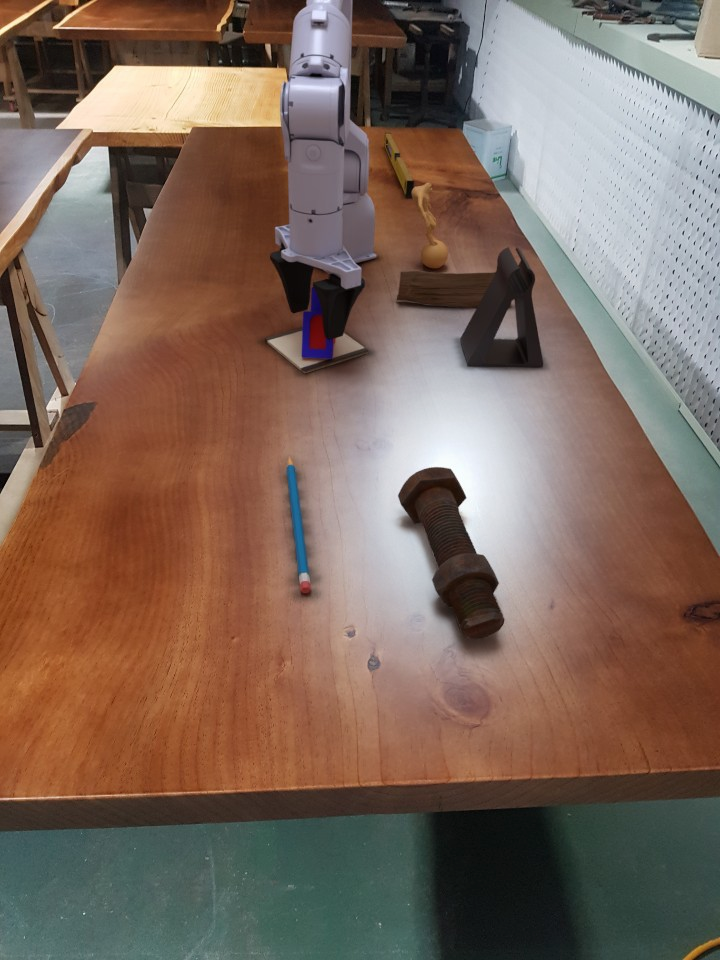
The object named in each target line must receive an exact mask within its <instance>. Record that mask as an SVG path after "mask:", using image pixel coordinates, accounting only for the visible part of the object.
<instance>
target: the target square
mask: <svg viewBox="0 0 720 960" xmlns="http://www.w3.org/2000/svg"><path fill="white" fill-rule="evenodd" d="M302 331H303V326H302V327H299V328H296V329H295V328H294V329H292V330H288V331H285V332H281V333H277V334H274V335H271V336H267V337H265V338H264V342H265V343H267V344H268V346H270V347H271V348H272V349H274V350H275V351H276V352H277V353H278V354H279V355H281V356H282V357H283V358H284V359H286V360H287V361H288V362H290V364H292V365H293V366H294V367H295V368H296V369H298V370H299V371H300V372H301V373H303V374H308V373H311V372H315V371H317V370H320V369H323V368H327V367H329V366H333V365H336V364H339V363H342V362H345V361H348V360H352V359H354V358H357V357H361V356H364V355H367V354H369V349H368V348H366V347H364V346H363V345H361V344H360V343H359V342H357V341H356V340H354V339H353V338H352V337H350V336H349V335H348V334H346V333H345V332H344V334H343V336H341V337H338V338H336V342H335V343H334V347H333V359H323V358H305V357H302Z"/></svg>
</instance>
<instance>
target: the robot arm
mask: <svg viewBox="0 0 720 960" xmlns="http://www.w3.org/2000/svg"><path fill="white" fill-rule="evenodd" d="M292 25H293V26H292V35H291V37H292V38H291V48H290V49H291V50H290V58H289V69H288V70H289V71H288V81H285V80H283V81H282V84H281V89H280V95H279V97H280V98H279V100H280V102H279V120H280V127H281V132H282V136H283V145H284V147H283V148H284V149H283V150H284V160H285V161H286V162H287V185H288V186H287V187H288V188H287V189H288V224H285V225H280V226H275V227H274V238H275V241H274V242H275V244H276V245H277V246H278V247H280V248H279V250H277V251H273V252H271V253H270V254H269V260H270V262H271V263H272V264H273V267H274V268H275V270H276V272H277V274H278V276H279V279H280V281H281V284H282V287H283V290H284V294H285V297H286V301H287V305H288V308H289V311H290V313H292V314H293V315H294V314H298V313H301V312H303V311H309V306H310V302H311V288H312V287H314V289H315V291H316V293H317V296H318V299H319V302H320V306H321V311H322V320H323V330H324V335H325V338H327V339H328V340H331V339H334V338H338V337H341V336H343V334H344V333H345V330H346V327H347V324H348V320H349V317H350V314H351V311H352V309H353V307H354V305H355V303H356V301H357V298H358V297H359V296H360V294H361V293H362V292H363V290H364V289H365V287H366V279H365V278H363V277H362V270H363V268H362V267H361V266H360V265H358V264H359V263H362V262H366V261H370V260H374V259H377V254H376V253H375V252H374V249H375V248H374V247H375V231H376V230H375V229H376V211H375V210H376V209H375V205H374V202H373V200H372V198H371V196H370V195H369V194H368V191H369V178H370V177H369V176H370V150H369V149H370V139H369V138H368V134H367V133H366V132H365V131H364V130H362V129H361V128H360V126H358V125H357V124H355V122H353V121H352V120H351V86H352V85H351V82H352V79H351V78H352V42H353V41H352V39H353V36H352V35H353V0H306V6H305V7H303V8H302V9H301V10H300V11H298V13H297V14H296V15H295V17H294V20H293V24H292ZM314 268H316V269H319V270H322V271H324V272H325V273H327V274H328V278H324V279H321V280H317V281H313V282H312V278H313V272H314ZM311 284H312V285H311Z"/></svg>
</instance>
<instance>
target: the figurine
mask: <svg viewBox="0 0 720 960" xmlns="http://www.w3.org/2000/svg"><path fill="white" fill-rule="evenodd" d="M432 186H433V185H432V183H431V182H429V181H428V182H426V183H424V184H422V185H418V186H414V188H413V190H412V198H411V199H412V200H413V202H414V204H415V206H416V207H417V210H418V212H419V213H420V215H421V217H422V219H423V222H424V223H425V225H426V227H425V229H426V230H425V236H426V238H427V240H428V241H427V242H426V243H424V245H423V246H422V248H421V250H420V259H421V262H422V263H423V265H424V266H426V268H429V269H439V268H441V267H442V266H444V265H445V264H446V262H447V260H448V257H449V251H448V247H447V246H446V244H445V243H444V242H443V241H441V240H438V238H437V237H434V236H433V235H432V233H433V231H434V230H435V229H436V228H437V219H436V217H434V215H433V213H431V211H430V210H432V205H431V204H430V199H431V197H430V192H432V191H433V187H432Z"/></svg>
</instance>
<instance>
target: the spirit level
mask: <svg viewBox="0 0 720 960" xmlns="http://www.w3.org/2000/svg"><path fill="white" fill-rule="evenodd" d="M384 141H385V143H386V144H388V145H386V144H385V143H384V142H383V143H384V144H383V148H384V149H385V151H386V154H387V156H388V158H389V160H390V163H391V165H392V168H393V169H394V172H395V174H396V177H397V179H398V181H399V183H400V186H401V188H402V190H403V193H404V195H405V199H413V198H412V190H413V188H415V180H413V178H412V176H411V174H410V171H409V169H408V167H407V165H406V163H405V161H404V159H403V157H401V153H400V151H399V148H398V146H397V144H396V142H395V140H394V138H393V136H392V132H385V133H384ZM388 147H389V148H388Z"/></svg>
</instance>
